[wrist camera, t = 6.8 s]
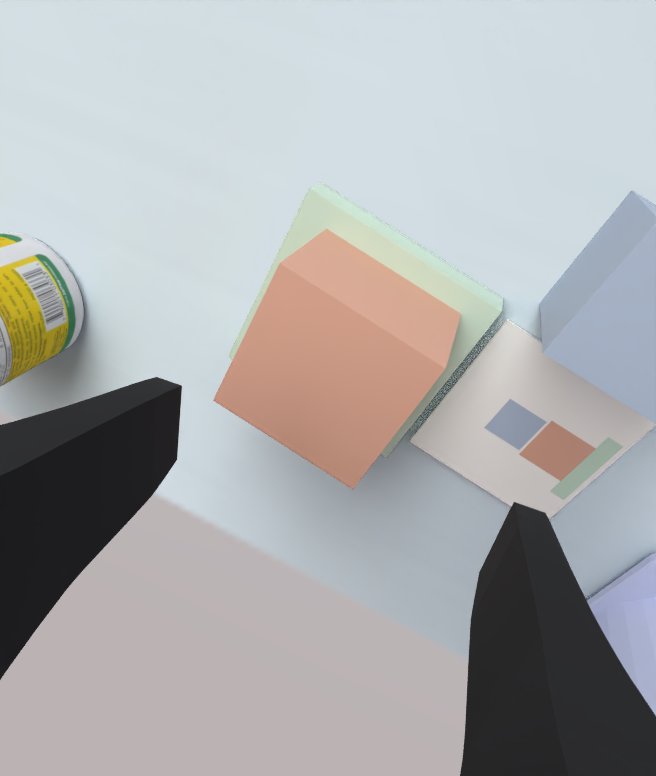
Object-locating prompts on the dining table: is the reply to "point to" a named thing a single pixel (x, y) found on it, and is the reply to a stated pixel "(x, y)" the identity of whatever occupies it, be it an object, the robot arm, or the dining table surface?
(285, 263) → the terracotta brick
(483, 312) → the plate
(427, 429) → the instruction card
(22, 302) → the supplement bottle
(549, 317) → the slate brick
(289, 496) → the dining table surface
